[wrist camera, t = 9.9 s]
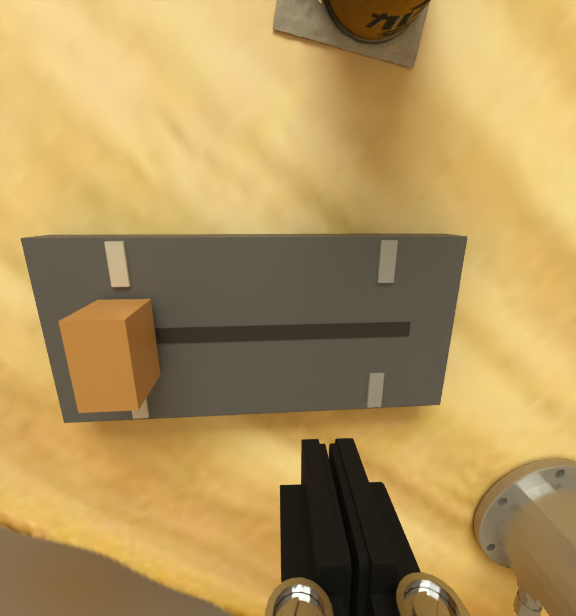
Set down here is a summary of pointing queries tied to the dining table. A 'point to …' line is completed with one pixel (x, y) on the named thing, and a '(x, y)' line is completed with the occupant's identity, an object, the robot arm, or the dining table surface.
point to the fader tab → (111, 354)
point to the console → (263, 316)
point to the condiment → (358, 25)
